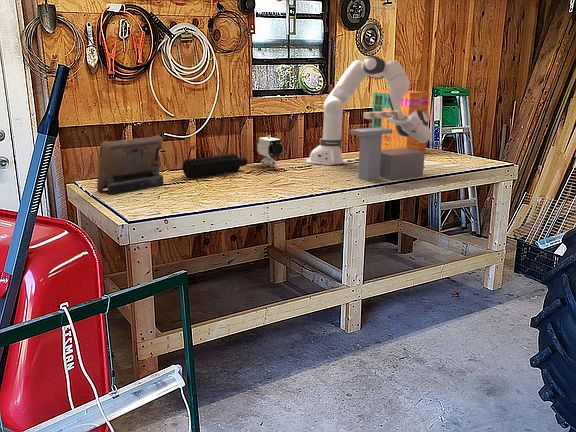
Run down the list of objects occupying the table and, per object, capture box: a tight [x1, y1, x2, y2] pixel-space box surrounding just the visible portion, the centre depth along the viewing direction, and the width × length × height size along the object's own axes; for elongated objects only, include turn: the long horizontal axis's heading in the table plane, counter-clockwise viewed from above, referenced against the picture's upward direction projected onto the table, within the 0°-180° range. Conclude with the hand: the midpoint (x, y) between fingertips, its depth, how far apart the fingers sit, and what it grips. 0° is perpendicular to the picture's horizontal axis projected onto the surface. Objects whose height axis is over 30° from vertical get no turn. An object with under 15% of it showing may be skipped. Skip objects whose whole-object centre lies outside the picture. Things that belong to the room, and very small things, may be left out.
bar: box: [363, 111, 401, 120], centre depth 295 cm, size 22×4×3 cm, turn 120°
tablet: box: [96, 134, 164, 196], centre depth 272 cm, size 33×14×25 cm, turn 141°
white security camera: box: [256, 135, 284, 168], centre depth 329 cm, size 18×8×18 cm, turn 35°
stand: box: [349, 127, 392, 182], centre depth 298 cm, size 20×10×26 cm, turn 120°
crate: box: [380, 148, 426, 181], centre depth 309 cm, size 23×16×13 cm
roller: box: [182, 153, 248, 179], centre depth 309 cm, size 38×10×10 cm, turn 128°
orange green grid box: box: [371, 88, 430, 153], centre depth 385 cm, size 34×18×40 cm, turn 35°
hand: (393, 113), depth 299 cm, fingers closed on bar, 4 cm apart
